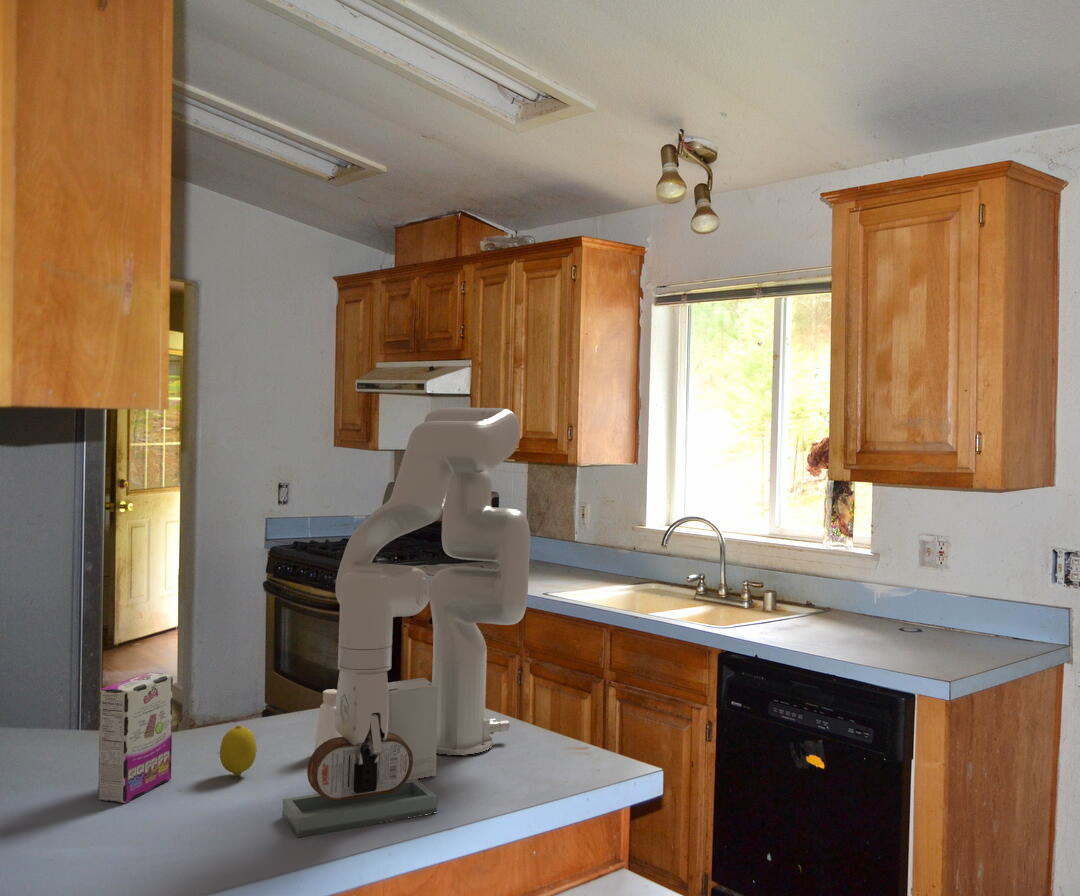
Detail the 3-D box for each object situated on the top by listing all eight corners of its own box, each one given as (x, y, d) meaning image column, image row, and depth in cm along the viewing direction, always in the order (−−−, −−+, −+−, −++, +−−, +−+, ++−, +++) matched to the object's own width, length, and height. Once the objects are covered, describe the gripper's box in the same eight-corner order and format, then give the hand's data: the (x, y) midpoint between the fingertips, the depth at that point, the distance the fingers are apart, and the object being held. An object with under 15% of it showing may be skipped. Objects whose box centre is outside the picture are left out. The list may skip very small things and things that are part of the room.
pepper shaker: (307, 759, 158) (309, 693, 158) (320, 749, 163) (322, 686, 164) (338, 761, 157) (340, 695, 157) (350, 752, 162) (352, 688, 163)
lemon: (242, 768, 153) (244, 718, 153) (262, 775, 149) (264, 725, 149) (211, 776, 149) (213, 725, 149) (231, 784, 145) (233, 732, 145)
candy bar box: (143, 776, 148) (147, 671, 148) (172, 779, 146) (175, 673, 147) (94, 801, 137) (98, 687, 137) (124, 805, 136) (128, 690, 136)
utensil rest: (415, 795, 142) (416, 778, 142) (436, 813, 135) (437, 795, 135) (282, 817, 132) (282, 799, 133) (297, 837, 126) (298, 818, 126)
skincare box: (423, 766, 156) (425, 676, 156) (437, 778, 151) (440, 684, 151) (374, 773, 152) (377, 681, 152) (387, 785, 146) (390, 689, 147)
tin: (407, 785, 139) (408, 727, 139) (415, 791, 136) (416, 732, 137) (305, 800, 131) (307, 739, 132) (312, 807, 129) (313, 745, 129)
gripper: (322, 649, 140) (318, 774, 139) (358, 671, 125) (353, 811, 125) (371, 645, 143) (367, 767, 143) (410, 667, 129) (406, 802, 129)
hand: (361, 786), depth 134 cm, fingers closed on tin, 2 cm apart
